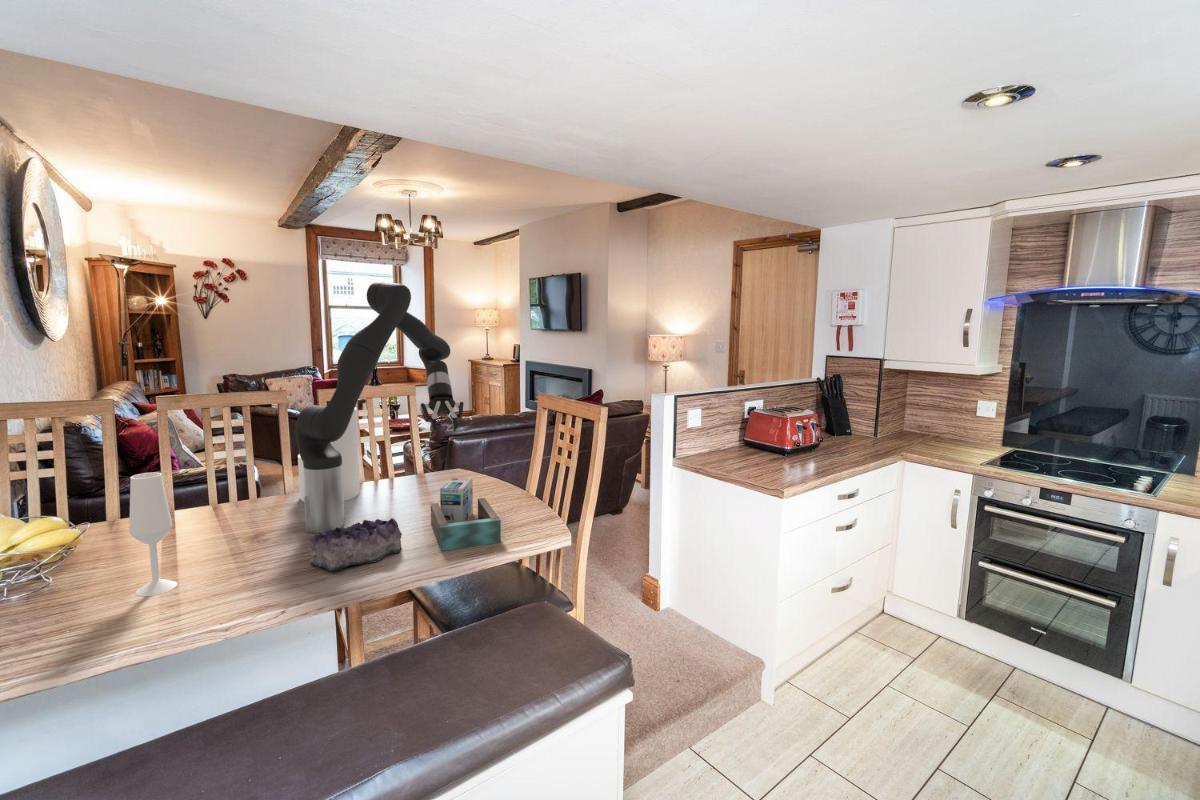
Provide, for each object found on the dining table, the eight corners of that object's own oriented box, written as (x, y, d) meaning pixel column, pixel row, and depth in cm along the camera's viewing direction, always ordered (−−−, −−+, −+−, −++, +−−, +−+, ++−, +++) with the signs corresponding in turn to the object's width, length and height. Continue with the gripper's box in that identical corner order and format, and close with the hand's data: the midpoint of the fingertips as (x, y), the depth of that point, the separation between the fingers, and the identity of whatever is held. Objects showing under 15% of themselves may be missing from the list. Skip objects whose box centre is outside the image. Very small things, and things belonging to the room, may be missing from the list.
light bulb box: (463, 526, 148) (463, 488, 147) (439, 525, 148) (439, 487, 147) (473, 513, 159) (473, 477, 157) (451, 512, 159) (450, 477, 157)
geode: (389, 540, 138) (392, 504, 136) (409, 560, 130) (412, 522, 128) (303, 559, 124) (304, 519, 122) (318, 583, 116) (320, 541, 114)
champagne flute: (180, 588, 110) (171, 475, 107) (138, 599, 105) (126, 482, 102) (173, 577, 115) (164, 469, 112) (132, 588, 110) (121, 475, 107)
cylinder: (371, 493, 175) (368, 408, 171) (320, 507, 160) (315, 415, 156) (340, 484, 184) (336, 403, 180) (289, 496, 169) (284, 409, 165)
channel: (440, 550, 131) (440, 527, 131) (431, 524, 149) (430, 503, 148) (500, 542, 138) (500, 519, 137) (484, 517, 155) (484, 497, 154)
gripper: (417, 381, 172) (422, 424, 163) (462, 381, 178) (470, 422, 169) (416, 396, 178) (421, 438, 168) (460, 394, 184) (467, 435, 174)
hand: (445, 430), depth 169 cm, fingers open, 5 cm apart
